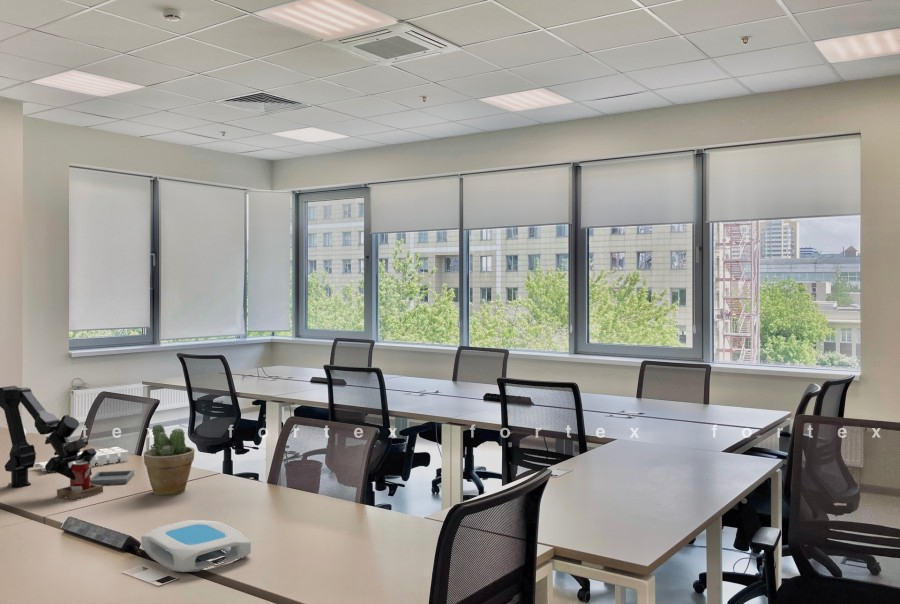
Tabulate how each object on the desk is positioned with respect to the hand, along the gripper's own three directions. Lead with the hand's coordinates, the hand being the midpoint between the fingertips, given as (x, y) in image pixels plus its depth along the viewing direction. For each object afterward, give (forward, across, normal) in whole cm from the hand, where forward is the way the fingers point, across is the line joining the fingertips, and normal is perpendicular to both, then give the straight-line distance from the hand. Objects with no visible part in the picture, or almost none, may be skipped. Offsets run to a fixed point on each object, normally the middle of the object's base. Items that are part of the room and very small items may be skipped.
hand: (82, 477), depth 275 cm
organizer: (-23, +33, +33) cm, 52 cm away
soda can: (+4, 0, +6) cm, 7 cm away
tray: (0, +20, +10) cm, 22 cm away
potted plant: (+23, +16, -14) cm, 32 cm away
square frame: (+4, 0, +6) cm, 7 cm away
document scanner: (+63, -31, -53) cm, 88 cm away
